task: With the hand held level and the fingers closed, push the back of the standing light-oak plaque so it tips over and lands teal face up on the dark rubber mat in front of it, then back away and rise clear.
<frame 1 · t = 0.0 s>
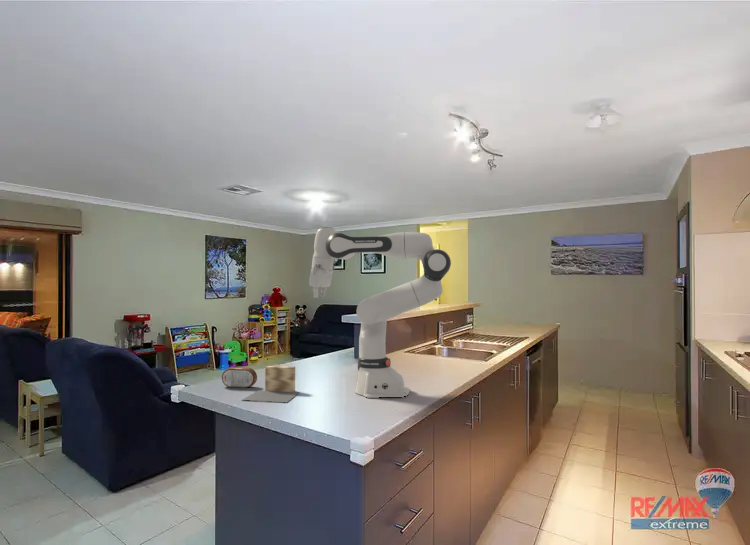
hand: (319, 297, 159), 39 cm above the worktop, tool pointing down, fingers open, 8 cm apart
mat: (271, 396, 146), on the worktop
bluetooth speaker: (238, 387, 160), on the worktop
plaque: (280, 391, 154), on the worktop
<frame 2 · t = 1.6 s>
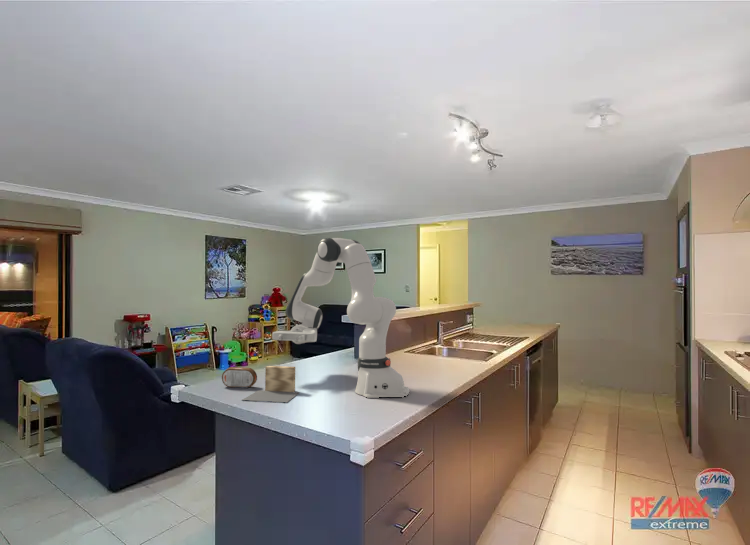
hand: (288, 338, 164), 21 cm above the worktop, tool horizontal, fingers open, 7 cm apart
nothing on the worktop moved.
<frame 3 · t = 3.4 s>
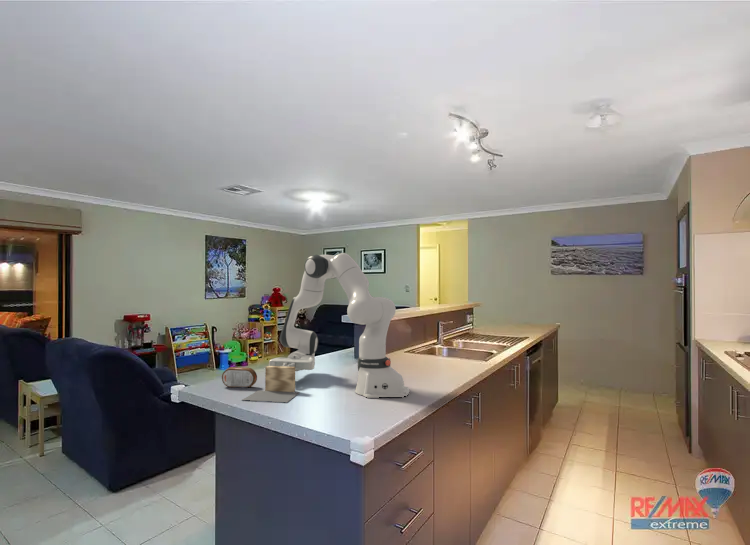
hand: (285, 367, 161), 8 cm above the worktop, tool horizontal, fingers closed
nothing on the worktop moved.
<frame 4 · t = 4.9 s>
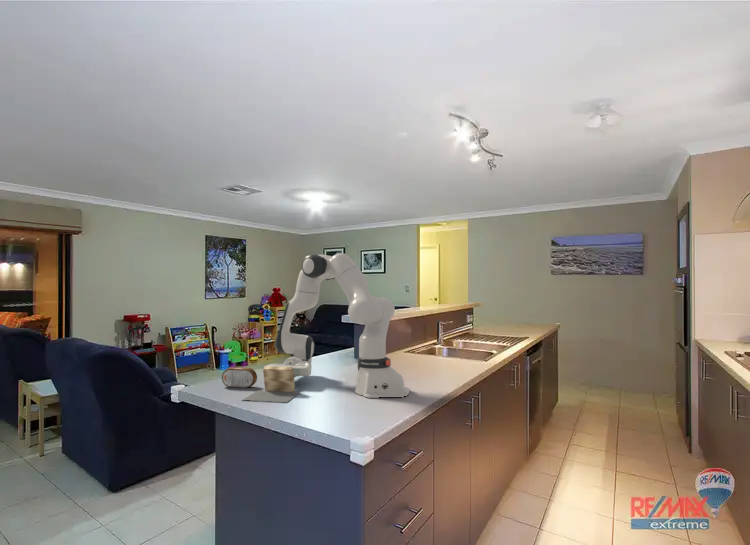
hand: (280, 373, 155), 7 cm above the worktop, tool horizontal, fingers closed
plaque: (280, 390, 154), on the worktop, tilted 13°, touching gripper
everything else where it was.
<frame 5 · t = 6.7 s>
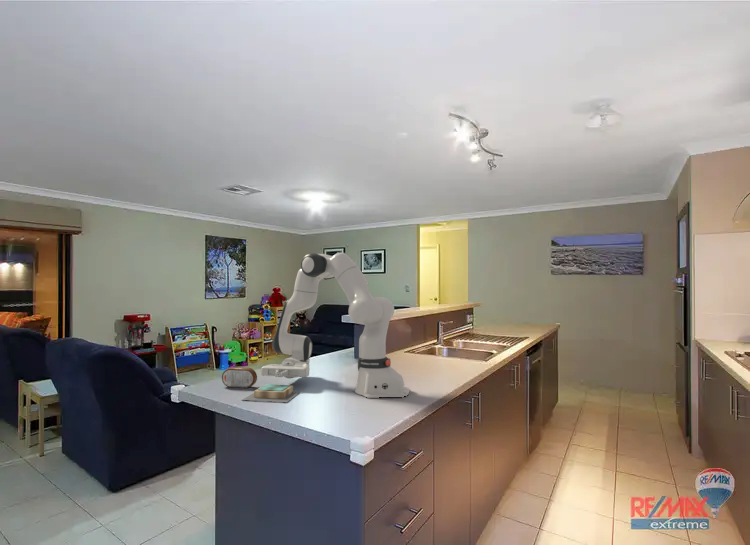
hand: (278, 375, 153), 7 cm above the worktop, tool horizontal, fingers closed
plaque: (279, 387, 153), point 2 cm above the worktop, tilted 90°, touching mat
everything else where it was.
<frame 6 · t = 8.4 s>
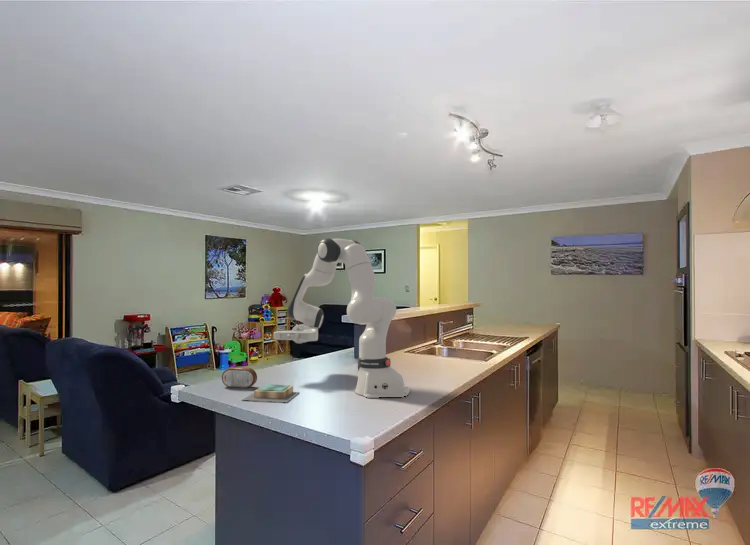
hand: (289, 337, 165), 21 cm above the worktop, tool horizontal, fingers closed
nothing on the worktop moved.
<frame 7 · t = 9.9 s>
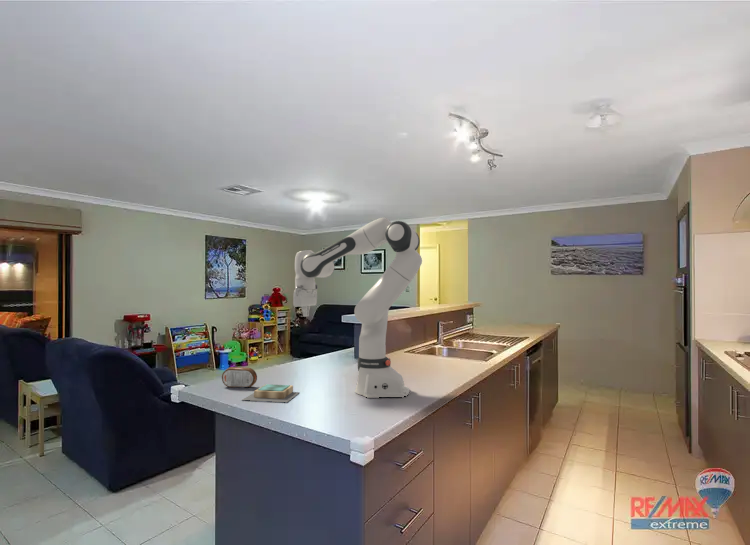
hand: (305, 316, 168), 30 cm above the worktop, tool pointing down, fingers closed
nothing on the worktop moved.
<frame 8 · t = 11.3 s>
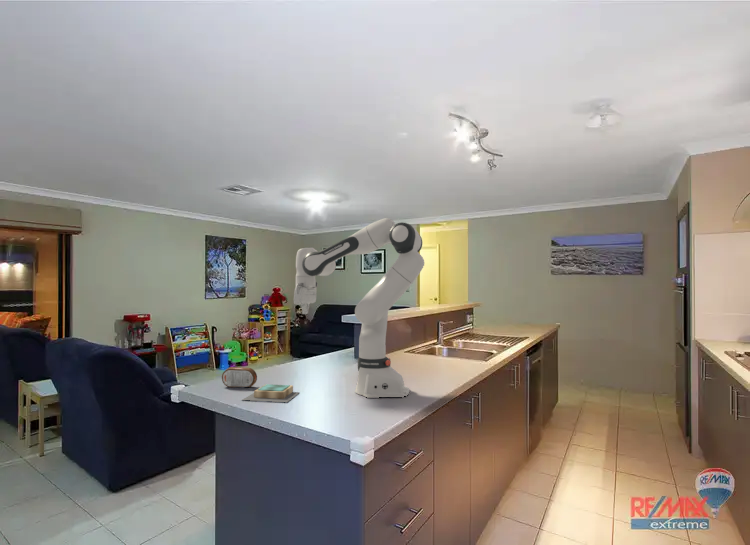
hand: (305, 313, 168), 31 cm above the worktop, tool pointing down, fingers closed
nothing on the worktop moved.
at the end: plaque tilted 90°; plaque touching mat; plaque inside the target area (1.9 cm from its centre), point 1.5 cm above the worktop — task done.
